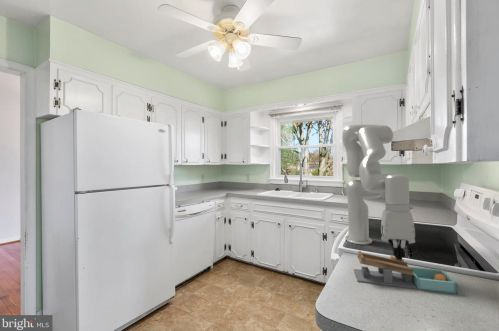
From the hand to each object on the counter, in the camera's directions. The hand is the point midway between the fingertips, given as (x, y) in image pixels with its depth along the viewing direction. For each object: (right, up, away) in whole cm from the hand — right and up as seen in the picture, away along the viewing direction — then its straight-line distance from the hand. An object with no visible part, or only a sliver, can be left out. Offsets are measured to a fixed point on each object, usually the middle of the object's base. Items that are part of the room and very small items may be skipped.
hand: (398, 257), depth 86 cm
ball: (+7, -3, -10) cm, 13 cm away
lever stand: (-8, -5, -6) cm, 11 cm away
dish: (+4, -5, -10) cm, 12 cm away
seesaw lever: (-8, -1, -3) cm, 8 cm away
